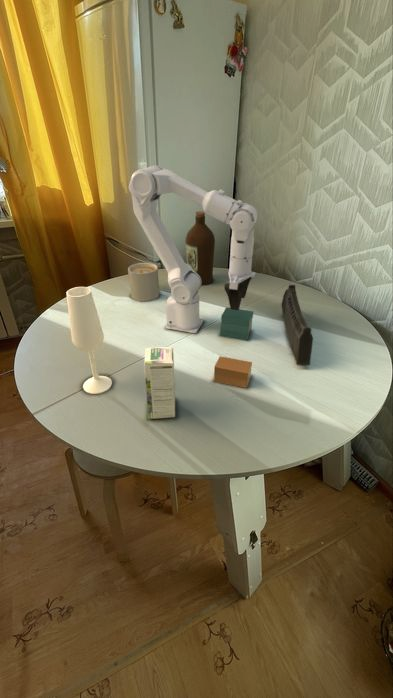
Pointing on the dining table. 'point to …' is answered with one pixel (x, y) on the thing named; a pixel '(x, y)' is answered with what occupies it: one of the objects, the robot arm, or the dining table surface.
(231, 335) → the dark green block
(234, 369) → the orange brown block
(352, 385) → the dining table surface
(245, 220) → the robot arm
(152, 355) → the syrup box
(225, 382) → the brown wooden block
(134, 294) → the coffee mug
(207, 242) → the olive oil
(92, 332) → the champagne flute
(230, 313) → the dark teal flat block
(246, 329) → the dark green block
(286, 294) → the magazine
